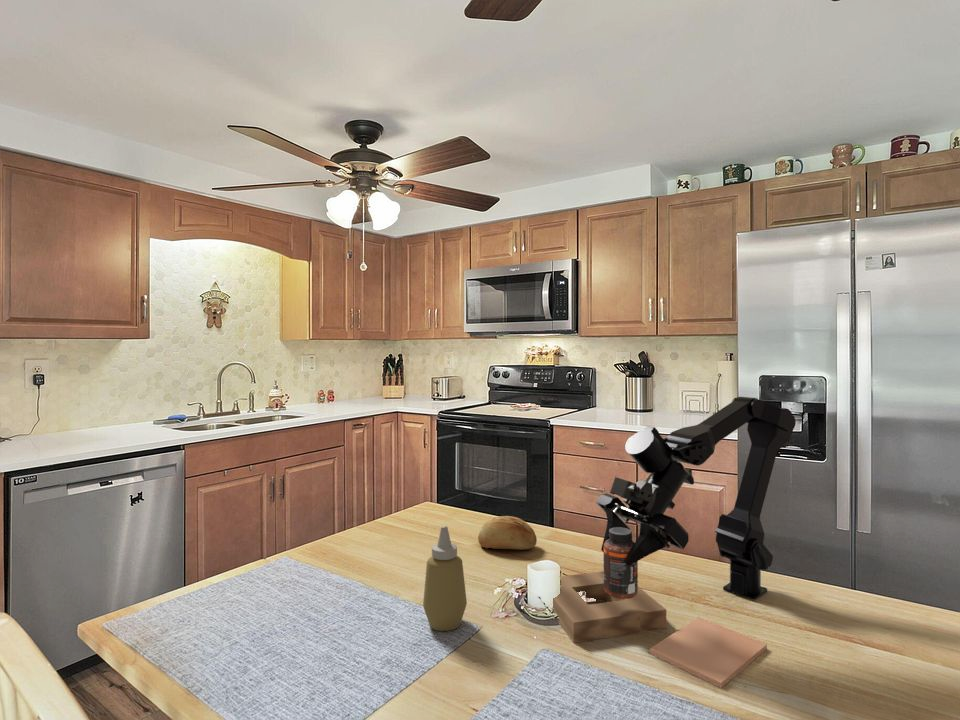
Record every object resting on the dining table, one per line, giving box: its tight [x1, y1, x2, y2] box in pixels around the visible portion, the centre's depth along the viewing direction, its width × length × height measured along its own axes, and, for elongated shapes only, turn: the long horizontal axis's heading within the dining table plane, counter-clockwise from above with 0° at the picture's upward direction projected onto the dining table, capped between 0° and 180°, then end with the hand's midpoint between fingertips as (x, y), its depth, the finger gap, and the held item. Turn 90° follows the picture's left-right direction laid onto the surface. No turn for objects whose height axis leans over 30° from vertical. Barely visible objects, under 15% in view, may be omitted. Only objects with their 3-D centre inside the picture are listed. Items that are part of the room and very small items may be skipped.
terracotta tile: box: [649, 616, 768, 689], centre depth 90 cm, size 16×12×1 cm
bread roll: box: [477, 515, 537, 550], centre depth 137 cm, size 10×15×8 cm, turn 81°
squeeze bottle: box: [422, 525, 468, 632], centre depth 99 cm, size 8×8×18 cm
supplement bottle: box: [602, 527, 639, 599], centre depth 97 cm, size 6×6×11 cm
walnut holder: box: [553, 570, 667, 644], centre depth 104 cm, size 18×18×4 cm
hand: (614, 557), depth 96 cm, fingers closed on supplement bottle, 6 cm apart
